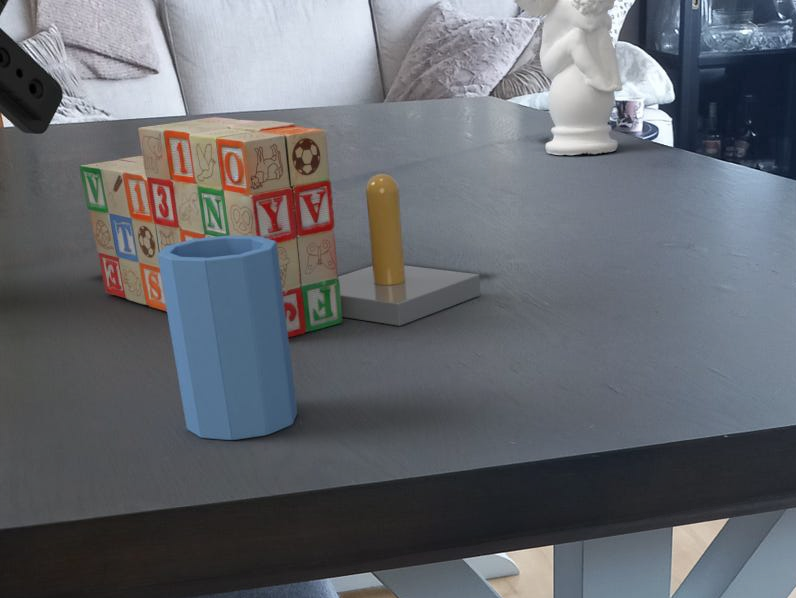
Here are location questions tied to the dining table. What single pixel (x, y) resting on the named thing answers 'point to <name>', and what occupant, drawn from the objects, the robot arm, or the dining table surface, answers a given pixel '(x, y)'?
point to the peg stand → (397, 270)
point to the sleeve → (229, 335)
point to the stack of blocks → (220, 207)
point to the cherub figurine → (578, 72)
